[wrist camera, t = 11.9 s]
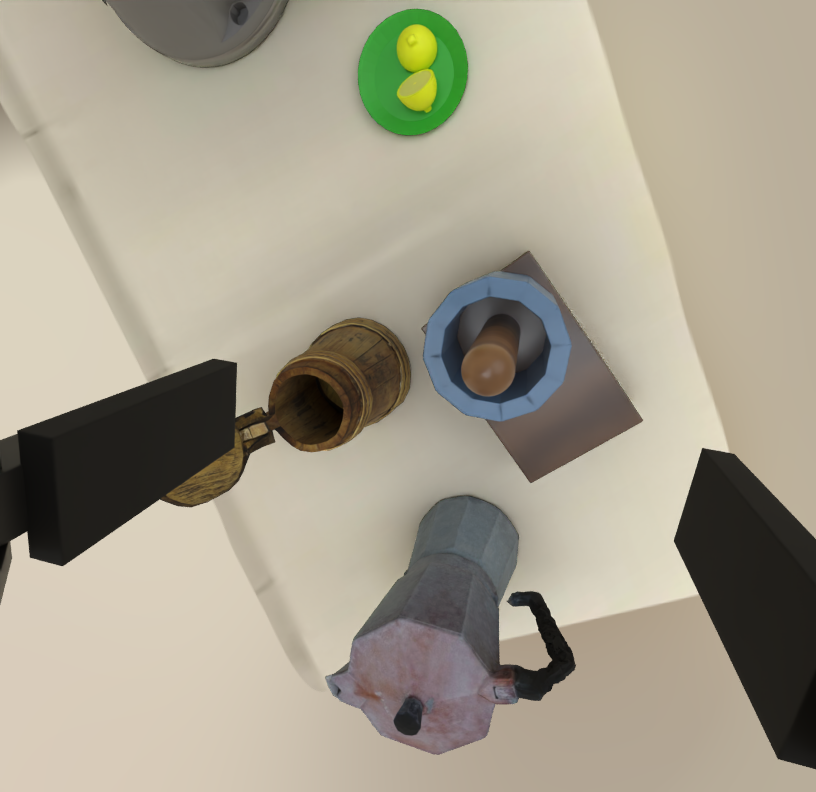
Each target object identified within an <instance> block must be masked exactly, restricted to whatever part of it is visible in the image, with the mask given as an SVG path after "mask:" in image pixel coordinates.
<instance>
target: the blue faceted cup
mask: <svg viewBox="0 0 816 792" xmlns="http://www.w3.org/2000/svg"><path fill="white" fill-rule="evenodd" d="M488 297H495V298H502V299H509V300H515V301H519V302H521V303H522V304H523V305H524V306H525V307H527V308H528V309H529V310H530V311H532V312H533V313H534V314H535V315H536V316H538V317H539V318H540V319H541V320H542V323H543V326H544V329H545V331H546V339H545V344H544V349H543V352H542V353H541V354H540V356H539V357H538V358H537V359H536V360H535V361H534V362H533V363H532V364H531V366H530V367H529V368H528V369H527V370H524V371H521V372H518V373H515V376H514V379H513V382H512V383H511V385H510V386H509V387H508V388H507V389H506V390H505V391H504V392H502V393H500V394H498V395H495V396H490V397H487V396H481V395H478V394H476V393H474V392H472V391H471V390H470V389H469V388H468V387H467V386H466V384H465V383H464V381H463V378H462V374H461V365H462V361H463V359H464V355H463V352H462V349H461V347H460V344H459V342H458V339H457V334H458V327H459V321H460V315H461V314H462V312H463V311H464V310H465V309H466V307H467V306H468V305H470V304H472V303H475V302H477V301H480V300H483V299H485V298H488ZM571 347H572V345H571V340H570V337H569V334H568V332H567V329H566V326H565V323H564V320H563V317H562V314H561V311H560V309H559V306H558V304H557V302H556V300H555V298H554V296H553V295H552V294H551V293H550V292H548V291H547V290H546V289H545V288H543V287H542V286H541V285H540V284H539V283H537V282H536V281H535V280H534V279H532V278H531V277H530V276H528V275H522V274H515V273H508V272H501V271H496V272H495V271H494V272H492V273H489V274H487V275H484V276H482V277H479V278H477V279H474V280H472V281H469V282H467V283H465V284H463V285H461V286H460V287H458V288H456V289H454V290H453V291H451V292H450V293H449V294H448V296H447V297H446V298H445V299H444V301H443V302H442V303H441V305H440V306H439V307H438V308H437V310H436V311H435V312H434V314H433V315H432V316H431V317H430V319H429V321H428V323H427V330H426V337H425V344H424V352H423V357H424V358H423V360H424V362H425V365H426V367H427V370H428V372H429V375H430V377H431V380H432V382H433V385H434V387H435V390H436V391H437V392H438V393H439V394H440V395H441V396H442V397H444V398H445V399H446V400H447V401H449V402H450V403H451V404H452V405H453V406H455V407H456V408H457V409H458V410H460V411H461V412H462V413H463V414H465V415H468V416H473V417H479V418H484V419H489V420H494V421H499V422H501V421H505V420H508V419H512V418H515V417H518V416H521V415H524V414H527V413H531V412H534V411H536V410H538V409H539V408H540V407H541V406H542V405H543V404H544V403H545V402H546V401H547V400H548V398H549V397H550V396H551V395H552V394H553V393H554V392H555V391H556V390H557V389H558V388H559V387H560V386H561V385H562V384H563V382H564V378H565V374H566V369H567V365H568V360H569V356H570V351H571Z"/></svg>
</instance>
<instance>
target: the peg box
mask: <svg viewBox="0 0 816 792" xmlns="http://www.w3.org/2000/svg"><path fill="white" fill-rule="evenodd" d="M501 272H508V273H515V274H522V275H528V276H530V277H531V278H532V279H534V280H535V281H536V282H537V283H539V284H540V285H541V286H542V287H543V288H545V289H546V290H547V291H548V292H550V293H551V294H552V295H553V296H554V298H555V300H556V302H557V304H558V306H559V309H560V311H561V314H562V317H563V320H564V323H565V326H566V329H567V332H568V334H569V337H570V340H571V345H572V347H571V351H570V356H569V360H568V365H567V369H566V374H565V378H564V382H563V384H562V385H561V386H560V387H559V388H558V389H557V390H556V391H555V392H554V393H553V394H552V395H551V396H550V397H549V398H548V400H547V401H546V402H545V403H544V404H543V405H542V406H541V407H540V408H539V409H538V410H536V411H534V412H531V413H527V414H524V415H521V416H518V417H515V418H512V419H508V420H505V421H501V422H499V421H494V420H489V419H486V421H487V422H488V424H489V425H490V426H491V428H492V429H493V431H494V432H495V433H496V435H497V436H498V438H499V439H500V441H501V442H502V443H503V445H504V446H505V448H506V449H507V451H508V452H509V453H510V455H511V456H512V458H513V459H514V460H515V462H516V463H517V465H518V466H519V468H520V469H521V470H522V472H523V473H524V475H525V476H526V477H527V479H528V480H529V482H530V483H532V482H534V481H536V480H538V479H539V478H541V477H543V476H545V475H547V474H548V473H550V472H552V471H554V470H556V469H557V468H559V467H561V466H563V465H565V464H566V463H568V462H570V461H572V460H574V459H576V458H577V457H579V456H581V455H583V454H585V453H586V452H588V451H590V450H592V449H594V448H595V447H597V446H599V445H601V444H603V443H604V442H606V441H608V440H610V439H612V438H613V437H615V436H617V435H619V434H621V433H623V432H624V431H626V430H628V429H630V428H632V427H633V426H635V425H637V424H639V423H641V422H642V421H643V420H642V418H641V416H640V415H639V413H638V412H637V410H636V409H635V407H634V405H633V404H632V402H631V401H630V399H629V398H628V396H627V395H626V393H625V392H624V390H623V389H622V387H621V386H620V384H619V383H618V381H617V380H616V378H615V377H614V375H613V374H612V372H611V371H610V370H609V368H608V367H607V365H606V364H605V362H604V361H603V359H602V358H601V356H600V355H599V353H598V352H597V350H596V349H595V347H594V346H593V344H592V343H591V341H590V340H589V338H588V337H587V335H586V334H585V332H584V331H583V329H582V328H581V326H580V325H579V323H578V322H577V321H576V319H575V318H574V316H573V315H572V313H571V312H570V310H569V309H568V307H567V306H566V304H565V303H564V301H563V300H562V298H561V297H560V295H559V294H558V292H557V291H556V289H555V288H554V286H553V285H552V283H551V282H550V280H549V279H548V277H547V276H546V274H545V273H544V271H543V270H542V269H541V267H540V266H539V264H538V263H537V261H536V260H535V258H534V257H533V255H532V254H531V252H530V251H527V252H526V253H525V254H523V255H522V256H521V257H519V258H518V259H516V260H515V261H514V262H512V263H511V264H509V265H508V266H507V267H505V268H504V269H502V270H501ZM422 330H423V331H424V333H425V334H426V330H427V324H426V325H424V326H423V327H422ZM457 339H458V342H459V344H460V347H461V349H462V352H463V355H464V359H463V361H462V365H461V374H462V378H463V381H464V383H465V384H466V386H467V387H468V388H469V389H470V390H471V391H472V392H474V393H476V394H478V395H481V396H487V397H490V396H495V395H498V394H500V393H502V392H504V391H505V390H506V389H507V388H508V387H509V386H510V385H511V383H512V382H513V379H514V376H515V373H518V372H521V371H524V370H527V369H528V368H529V367H530V366H531V364H532V363H533V362H534V361H535V360H536V359H537V358H538V357H539V356H540V354H541V353H542V352H543V349H544V344H545V339H546V331H545V329H544V326H543V323H542V320H541V319H540V318H539V317H538V316H536V315H535V314H534V313H533V312H532V311H530V310H529V309H528V308H527V307H525V306H524V305H523V304H522V303H521V302H519V301H515V300H509V299H502V298H495V297H488V298H485V299H483V300H480V301H477V302H475V303H472V304H470V305H468V306H467V307H466V309H465V310H464V311H463V312H462V314H461V315H460V321H459V327H458V334H457Z"/></svg>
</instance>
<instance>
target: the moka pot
mask: <svg viewBox="0 0 816 792" xmlns="http://www.w3.org/2000/svg"><path fill="white" fill-rule="evenodd" d="M518 540H519V535H518V533H517V532H516V530H515V528H514V526H513V525H512V524H511V522H510V520H509V519H508V518H507V516H506V515H505V514H504V513H503V512H502V511H501V510H500V509H498V508H497V507H495V506H494V505H492V504H490V503H487V502H485V501H483V500H480V499H477V498H474V497H471V496H460V497H455V498H450V499H444V500H442V501H440V502H438V503H437V504H436V505H435V506H433V507H432V509H431V510H430V511H429V512H428V513H427V514H426V515H425V516H424V518H423V519H422V521H421V522H420V525H419V529H418V533H417V537H416V541H415V544H414V549H413V552H412V556H411V560H410V563H409V568H408V570H407V571H406V572H405V573H404V576H403V577H401V578H400V579H398V580H397V581H396V582H395V584H394V585H393V586H392V588H391V589H390V591H389V592H388V593H387V595H386V596H385V597H384V598H383V600H382V601H381V602H380V604H379V605H378V607H377V608H376V609H375V610H374V612H373V613H372V615H371V616H370V617H369V619H368V620H367V621H366V623H365V624H364V625H363V627H362V628H361V629H360V631H359V632H358V633H357V635H356V636H355V637H354V639H353V642H352V648H351V654H350V661H349V662H348V663H347V664H346V665H345V666H343V667H342V668H341V669H340V670H339V671H337V672H336V673H334V674H332V675H329V676H326V677H325V678H326V681H327V684H328V687H329V689H330V691H331V692H332V694H333V696H335V697H337V698H338V699H339V700H340V701H342V702H344V703H346V704H349V705H351V706H354V707H356V708H359V709H361V710H362V711H363V712H364V714H365V715H366V716H367V718H368V719H369V720H370V722H371V723H372V725H373V726H374V727H375V728H376V730H377V731H378V732H379V733H380V735H382V736H384V737H387V738H390V739H392V740H395V741H398V742H400V743H403V744H406V745H409V746H412V747H415V748H417V749H420V750H423V751H426V752H428V753H431V754H437V755H439V754H442V753H445V752H447V751H450V750H453V749H456V748H459V747H461V746H464V745H467V744H470V743H472V742H475V741H478V740H481V739H483V738H485V737H486V736H487V734H488V731H489V727H490V722H491V718H492V713H493V710H494V707H495V704H514V703H517V702H518V699H519V698H523V699H528V700H534V701H540V700H541V699H542V697H543V696H544V695H545V694H546V693H547V692H549V691H551V689H552V686H553V684H555V683H559V682H560V681H562V680H564V679H565V678H566V676H568V675H569V674H570V673H571V672H572V671H574V670H575V666H576V665H575V662H574V657H573V653H572V650H571V648H570V647H569V646H568V644H567V642H566V641H565V639H564V637H563V636H562V634H561V632H560V631H559V629H558V627H557V625H556V622H555V620H554V619H553V618H552V617H551V614H550V610H549V608H547V605H546V603H545V602H544V599H543V597H542V595H541V594H540V593H537V592H533V591H530V592H516V593H512V594H511V596H510V598H509V600H508V601H507V602H508V603H509V604H510V605H512V606H513V607H514V606H529V607H530V609H531V612H532V613H533V615H534V616H535V617H536V622H537V625H538V630H539V632H540V633H541V637H542V639H543V640H544V642H545V643H546V648H547V652H548V655H549V656H550V657H551V658H552V661H551V662H550V663H549V665H548V666H547V668H541V669H539V670H538V671H532V670H527V669H524V668H522V667H520V666H518V665H500V662H499V608H498V606H499V604H500V602H501V599H502V597H503V595H504V593H505V590H506V588H507V585H508V583H509V580H510V578H511V576H512V574H513V572H514V570H515V567H516V563H517V554H518Z"/></svg>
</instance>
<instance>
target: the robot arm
mask: <svg viewBox="0 0 816 792" xmlns="http://www.w3.org/2000/svg"><path fill="white" fill-rule="evenodd" d="M102 1H103V2H104V3H105V4H106V5H107V3H108V4H109V5H110V6H111V7H112V8H113V10H114V11H115V12H116V14H117V15H118V17H119V18H120V19H121V21H122V22H123V23H124V24H125V25H126V26H127V28H128V29H129V30H130V31H131V32H132V33H134V34H135V35H136V36H137V37H138V38H139V39H140V40H141V41H143V42H144V43H145V44H146V45H148V46H149V47H151V48H152V49H154V50H156V51H158V52H159V53H161V54H163V55H165V56H167V57H169V58H171V59H173V60H175V61H177V62H180V63H183V64H186V65H190V66H196V67H214V66H220V65H225V64H228V63H230V62H233V61H235V60H237V59H239V58H241V57H243V56H245V55H246V54H248V53H249V52H251V51H252V50H253V49H254V48H256V47H257V46H258V45H259V44H260V43H261V42H262V41H263V40H264V39H265V38H266V37H267V35H268V34H269V33H270V32H271V31H272V29H273V28H274V26H275V25H276V23H277V22H278V20H279V18H280V16H281V14H282V12H283V10H284V8H285V6H286V4H287V1H288V0H102ZM106 2H107V3H106ZM236 378H237V363H234V362H229V361H224V360H218V359H212V360H209V361H206V362H203V363H201V364H198V365H195V366H192V367H190V368H187V369H184V370H182V371H179V372H176V373H173V374H171V375H168V376H165V377H162V378H160V379H157V380H154V381H151V382H149V383H146V384H143V385H141V386H138V387H135V388H132V389H130V390H127V391H124V392H121V393H119V394H116V395H113V396H111V397H108V398H105V399H102V400H100V401H97V402H94V403H91V404H89V405H86V406H83V407H81V408H78V409H75V410H72V411H70V412H67V413H64V414H62V415H59V416H56V417H53V418H51V419H48V420H45V421H43V422H40V423H37V424H34V425H32V426H29V427H26V428H23V429H21V430H18V431H17V433H18V434H16V435H13V436H10V437H8V438H5V439H2V440H0V603H1V599H2V596H3V592H4V587H5V584H6V579H7V575H8V572H9V568H10V564H11V559H12V554H11V545H10V541H11V540H13V539H15V538H16V537H18V536H20V535H21V534H23V533H25V532H27V533H28V543H29V553H30V558H34V559H37V560H41V561H45V562H48V563H53V564H56V565H60V566H64V565H65V564H67V563H68V562H70V561H71V560H72V559H74V558H75V557H77V556H78V555H80V554H81V553H83V552H84V551H85V550H87V549H88V548H90V547H91V546H93V545H94V544H96V543H97V542H98V541H100V540H101V539H103V538H104V537H106V536H107V535H109V534H110V533H111V532H113V531H114V530H116V529H117V528H119V527H120V526H122V525H123V524H125V523H126V522H127V521H129V520H130V519H132V518H133V517H134V516H136V515H138V514H139V513H141V512H142V511H143V510H145V509H146V508H148V507H149V506H151V505H152V504H154V503H155V502H156V501H158V500H159V499H161V498H162V497H164V496H165V495H167V494H168V493H169V492H171V491H172V490H174V489H175V488H177V487H178V486H180V485H181V484H182V483H184V482H185V481H187V480H188V479H190V478H191V477H193V476H194V475H196V474H197V473H198V472H200V471H201V470H203V469H204V468H206V467H207V466H209V465H210V464H211V463H213V462H214V461H216V460H217V459H219V458H220V457H222V456H223V455H224V454H226V453H227V452H229V451H230V450H232V449H233V448H235V413H236ZM674 542H675V544H676V547H677V549H678V551H679V553H680V555H681V557H682V559H683V561H684V563H685V565H686V567H687V570H688V572H689V574H690V576H691V578H692V580H693V582H694V584H695V586H696V588H697V591H698V593H699V595H700V597H701V599H702V601H703V603H704V605H705V607H706V609H707V611H708V613H709V616H710V618H711V620H712V622H713V624H714V626H715V628H716V630H717V632H718V634H719V636H720V639H721V641H722V643H723V645H724V647H725V649H726V651H727V653H728V655H729V657H730V660H731V662H732V664H733V666H734V668H735V670H736V672H737V674H738V676H739V678H740V680H741V683H742V685H743V687H744V689H745V691H746V693H747V695H748V697H749V699H750V701H751V703H752V706H753V708H754V710H755V712H756V714H757V716H758V718H759V720H760V722H761V725H762V727H763V729H764V731H765V733H766V735H767V737H768V739H769V741H770V743H771V746H772V748H773V750H774V752H775V754H776V756H777V758H778V759H780V760H784V761H787V762H791V763H795V764H798V765H802V766H806V767H810V768H813V769H816V539H815V538H814V537H813V536H812V535H811V534H810V533H809V532H808V531H807V530H806V528H805V527H803V525H802V524H801V523H800V522H799V521H798V520H797V519H796V518H795V517H794V516H793V515H792V514H791V513H790V512H789V511H788V510H787V509H786V508H785V507H784V506H783V504H782V503H781V502H780V501H779V500H778V499H777V498H776V497H775V496H774V495H773V494H772V493H771V492H770V491H769V490H768V489H767V488H766V487H765V486H764V485H763V484H762V482H761V481H760V480H759V479H758V478H757V477H756V476H755V475H754V474H753V473H752V472H751V471H750V470H749V469H748V468H747V467H746V466H745V465H744V464H743V463H742V462H741V461H740V460H739V459H738V457H737V456H736V455H735V454H731V453H726V452H721V451H715V450H710V449H704V448H702V451H701V454H700V457H699V461H698V464H697V467H696V470H695V474H694V477H693V480H692V483H691V487H690V490H689V493H688V496H687V500H686V503H685V506H684V509H683V513H682V516H681V519H680V522H679V525H678V529H677V532H676V535H675V538H674Z"/></svg>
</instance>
